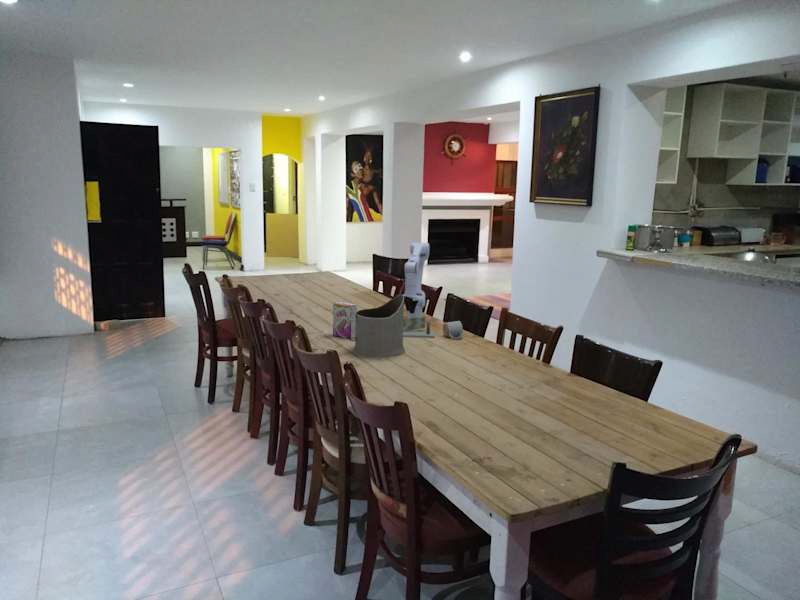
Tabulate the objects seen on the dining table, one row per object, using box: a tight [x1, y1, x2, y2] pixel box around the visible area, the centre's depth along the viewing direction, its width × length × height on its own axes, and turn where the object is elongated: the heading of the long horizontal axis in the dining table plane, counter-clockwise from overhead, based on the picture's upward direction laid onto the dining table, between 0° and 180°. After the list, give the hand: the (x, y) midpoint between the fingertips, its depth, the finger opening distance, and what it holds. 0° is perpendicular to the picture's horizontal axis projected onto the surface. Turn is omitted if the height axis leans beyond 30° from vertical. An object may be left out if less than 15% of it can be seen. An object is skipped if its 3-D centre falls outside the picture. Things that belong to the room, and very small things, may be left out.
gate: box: [403, 315, 426, 331], centre depth 307 cm, size 14×1×6 cm, turn 124°
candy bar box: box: [332, 301, 358, 340], centre depth 295 cm, size 11×5×16 cm, turn 58°
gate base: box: [403, 321, 435, 339], centre depth 301 cm, size 8×20×7 cm, turn 89°
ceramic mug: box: [442, 320, 464, 341], centre depth 300 cm, size 11×8×8 cm
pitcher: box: [334, 294, 406, 359], centre depth 269 cm, size 23×32×25 cm
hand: (410, 312), depth 311 cm, fingers open, 5 cm apart
